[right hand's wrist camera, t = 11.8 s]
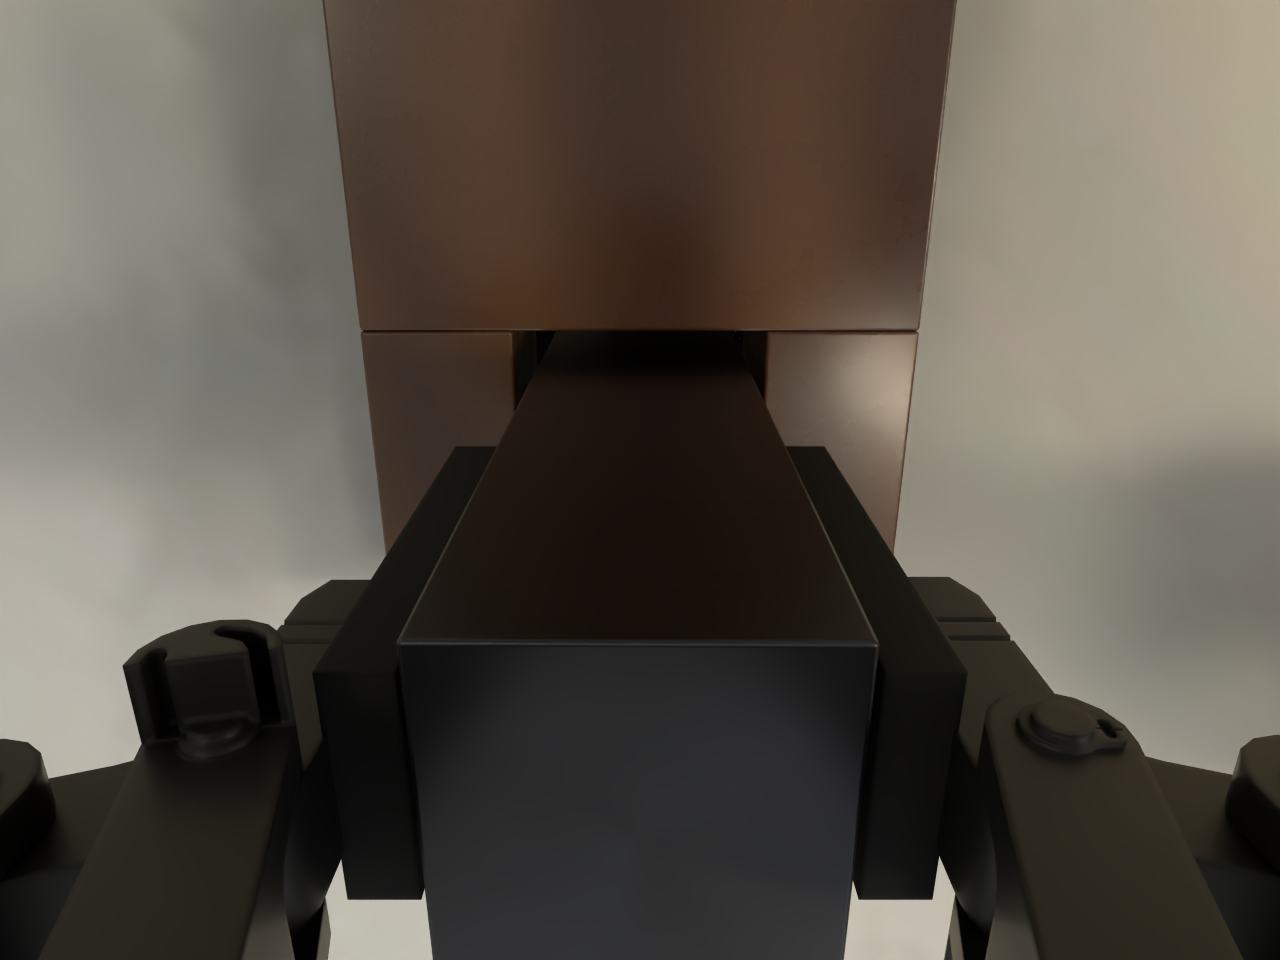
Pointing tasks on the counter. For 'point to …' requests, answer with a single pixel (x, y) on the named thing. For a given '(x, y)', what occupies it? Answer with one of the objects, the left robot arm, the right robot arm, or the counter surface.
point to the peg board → (639, 206)
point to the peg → (638, 677)
